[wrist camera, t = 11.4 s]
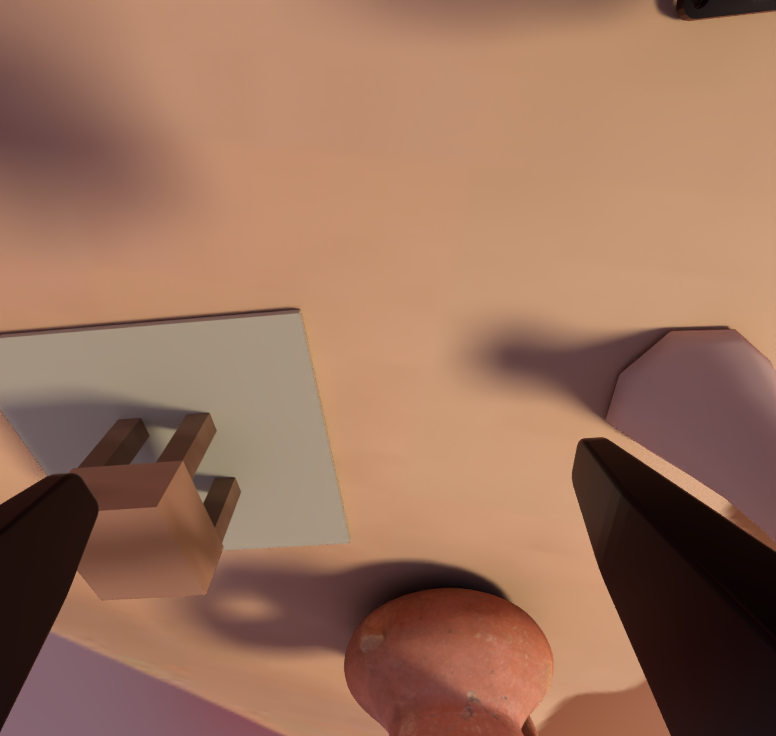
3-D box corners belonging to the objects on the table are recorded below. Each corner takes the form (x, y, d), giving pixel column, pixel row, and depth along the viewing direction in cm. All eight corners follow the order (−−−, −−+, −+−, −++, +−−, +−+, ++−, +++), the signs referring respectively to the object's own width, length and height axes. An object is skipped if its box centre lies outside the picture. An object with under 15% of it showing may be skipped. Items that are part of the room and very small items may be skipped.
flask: (578, 426, 23) (690, 621, 14) (662, 305, 19) (879, 472, 11) (695, 455, 24) (862, 652, 15) (795, 346, 20) (1089, 527, 12)
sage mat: (300, 309, 19) (298, 313, 19) (349, 537, 28) (349, 543, 27) (-41, 338, 20) (-49, 342, 20) (109, 551, 28) (105, 557, 28)
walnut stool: (243, 493, 25) (206, 594, 20) (159, 498, 25) (101, 600, 20) (210, 410, 22) (156, 507, 17) (115, 418, 22) (32, 515, 17)
